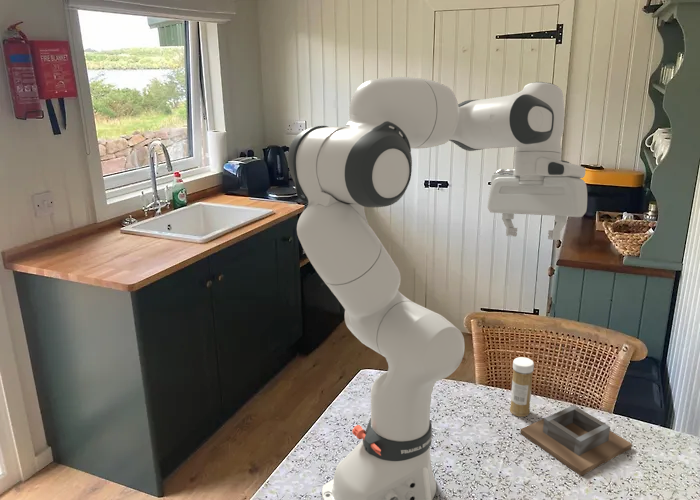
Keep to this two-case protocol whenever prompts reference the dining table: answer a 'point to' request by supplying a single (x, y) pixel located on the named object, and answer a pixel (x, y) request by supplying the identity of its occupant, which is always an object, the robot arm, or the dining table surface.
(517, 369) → the sprinkles bottle
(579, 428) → the socket base
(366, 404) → the dining table surface
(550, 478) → the dining table surface
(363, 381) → the dining table surface
